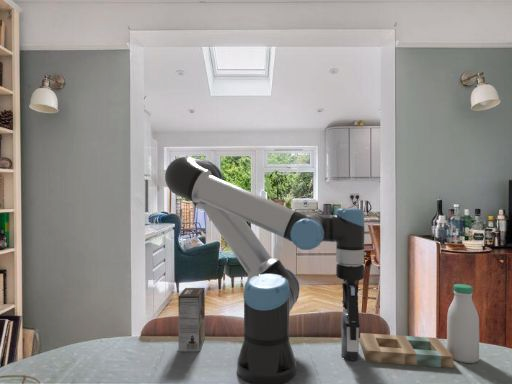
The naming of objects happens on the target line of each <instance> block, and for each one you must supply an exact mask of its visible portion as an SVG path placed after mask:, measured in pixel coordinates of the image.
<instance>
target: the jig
mask: <svg viewBox="0 0 512 384" xmlns="http://www.w3.org/2000/svg"><path fill="white" fill-rule="evenodd" d="M359 343H360V346H361V350H362V353H363V356H364V359H365V362H368V363H380V364H381V363H383V364H393V365H394V364H395V365H404V366H405V365H406V366H418V367H419V366H421V367H431V368H433V367H434V368H445V369H454V359H453V356H452V355H451V353H450V352H449V351H448V350H447V347H446V346H445V345H444V344H443V343H442V342H441V340H440V339H439V338H438V337H431V336H430V337H428V336H427V337H426V336H414V335H413V336H412V335H411V336H410V335H398V334H386V333H385V334H382V333H381V334H380V333H366V332H365V333H364V332H359Z"/></svg>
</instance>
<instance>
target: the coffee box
mask: <svg viewBox="0 0 512 384" xmlns="http://www.w3.org/2000/svg"><path fill="white" fill-rule="evenodd" d="M205 290H206V287H185V288H184V289H183V290H182V291H181V292H180V294H179V295H178V297H177V298H178V300H177V301H178V306H177V307H178V352H200V351H201V348H202V346H203V343H204V341H205V337H206V336H205V335H206V334H205V333H206V331H205V330H206V329H205V328H206V327H205V326H206V325H205V323H206V321H205V320H206V319H205V316H206V313H205V311H206V310H205V307H206V306H205V305H206V303H205V302H206V301H205V299H206V297H205V296H206V295H205V293H206V291H205Z"/></svg>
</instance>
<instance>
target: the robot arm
mask: <svg viewBox="0 0 512 384" xmlns="http://www.w3.org/2000/svg"><path fill="white" fill-rule="evenodd" d="M164 173H165V174H164V180H165V184H166V186H167V188H168V189H169V190H170V192H171V193H173V194H174V195H176V196H178V197H182V198H184V199H186V200H188V201H191V202H192V204H193V205H194V207H195V208H196V209H199V210H203V211H204V212H205V214H206V215H207V216H208V218H209V219H210V221H211V222H212V224H213V226H215V228H216V230H217V231H218V232H219V234H220V235H221V237H222V239H223V240H224V241H225V243H226V244H227V247H229V248H230V251H231V252H232V253H233V255H234V256H235V258H236V259H237V260H238V261H239V263H240V265H241V266H242V267H243V269H244V271H245V272H246V273H247V279H246V280H247V281H246V282H245V284H244V288H243V289H244V290H243V312H244V313H243V330H244V331H243V333H244V334H243V342H242V345H241V348H240V350H239V353H238V354H239V355H238V357H237V363H236V364H237V365H236V369H237V371H236V372H237V374H238V376H239V377H240V378H241V379H243V380H244V381H246V382H248V383H251V384H284V383H286V382H289V381H291V380H292V379H293V378H295V376H296V372H297V362H296V358H295V355H294V352H293V348H292V345H291V342H290V312H291V311H292V310H293V307H294V305H295V304H296V303H297V301H298V299H299V295H300V283H299V280H298V277H297V276H296V275H295V273H294V272H293V271H292V270H290V269H288V268H286V267H285V266H284V264H283V263H282V261H281V260H280V259H279V258H276V257H272V256H271V255H270V253H269V252H268V251H267V249H266V248H265V246H264V245H263V244H262V242H261V241H260V239H259V237H258V236H257V235H256V234H255V233H254V231H253V229H252V228H251V226H250V225H249V224H252V225H254V226H256V227H259V228H261V229H264V230H265V231H267V232H270V233H272V234H275V235H277V236H279V237H281V238H283V239H285V240H287V241H290V242H291V243H293V245H294V246H295V247H296V248H298V249H300V250H302V251H311V250H313V249H315V248H317V247H319V246H320V245H321V243H323V242H331V243H334V242H335V243H336V247H335V251H336V252H335V256H336V257H335V261H336V262H337V264H336V272H335V273H336V277H337V278H338V279H339V280H343V282H342V283H341V284H342V285H341V287H342V308H343V309H342V312H344V311H347V315H348V324H346V323H345V327H347V351H351V352H358V328H360V326H361V325H360V318H359V316H360V315H359V293H358V292H359V285H358V283H356V281H362V280H363V279H364V278H365V266H364V263H365V257H364V256H367V252H365V214H364V213H365V212H364V211H363V209H361V208H355V207H354V208H353V207H352V208H351V207H348V208H347V207H346V208H344V207H342V208H337V209H336V212H335V214H332V215H330V214H329V215H327V214H326V215H325V214H307V213H305V214H304V213H301V212H298V211H296V210H294V209H291V208H289V207H286V206H284V205H282V204H280V203H277V202H275V201H272V200H270V199H267V198H265V197H263V196H261V195H259V194H256V193H253V192H251V191H249V190H247V189H244V188H242V187H240V186H238V185H234V184H233V183H230V182H228V181H225V180H223V179H224V178H223V174H222V172H221V170H220V168H219V167H218V166H217V165H216V164H214V163H213V162H212V161H209V160H206V159H199V158H193V157H191V156H182V157H178V158H176V159H174V160H173V161H171V162H170V163H169V164H168V165H167V168H166V171H165V172H164ZM247 222H248V223H249V224H248V223H247ZM352 321H354V322H352Z"/></svg>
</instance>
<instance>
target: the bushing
mask: <svg viewBox="0 0 512 384" xmlns="http://www.w3.org/2000/svg"><path fill="white" fill-rule="evenodd" d="M352 322H354V321H352ZM345 323H346V324H348V315H347V311H344V312H343V311H342V312H341V358H342V359H343V358H344V359H343V360H345V361H349V362H355V361H358V360H359V359H360V358H359V356H360V355H359V353H360V351H359V347H360V346H359V343H360V332H359V330H360V329H359V328H360V327H359V328H358V352H351V351H347V327H345Z"/></svg>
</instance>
